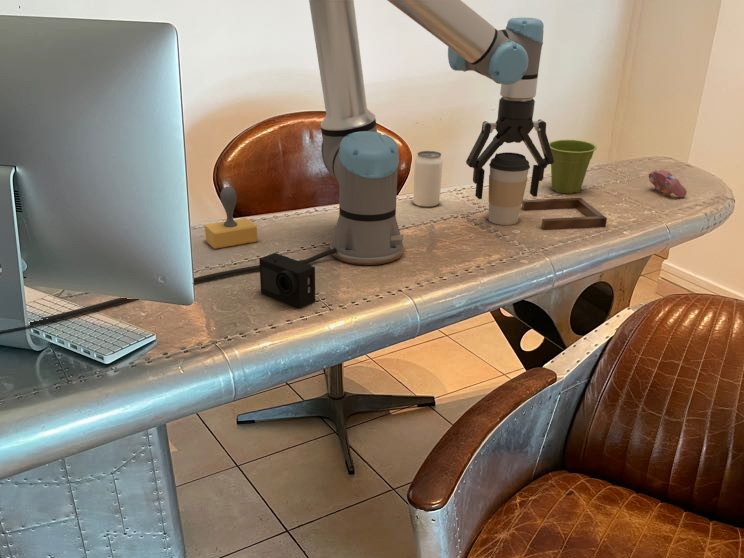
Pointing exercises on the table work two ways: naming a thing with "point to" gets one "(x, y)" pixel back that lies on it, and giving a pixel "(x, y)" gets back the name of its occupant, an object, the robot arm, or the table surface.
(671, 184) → the video game controller
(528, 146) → the robot arm
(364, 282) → the table surface
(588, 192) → the table surface
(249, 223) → the rubber stamp
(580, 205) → the frame
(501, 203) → the coffee cup
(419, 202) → the can
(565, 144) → the plant pot
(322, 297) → the table surface
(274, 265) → the digital camera
